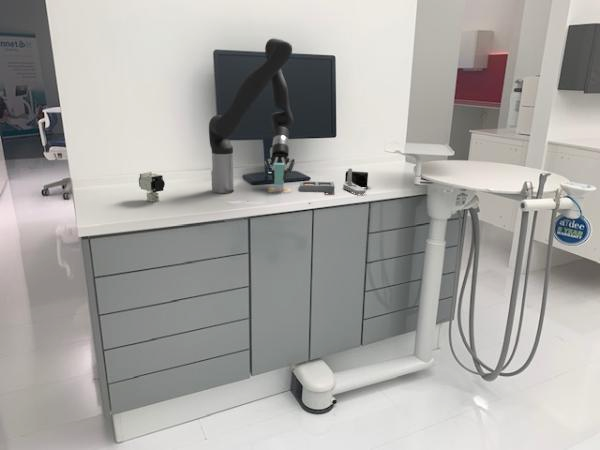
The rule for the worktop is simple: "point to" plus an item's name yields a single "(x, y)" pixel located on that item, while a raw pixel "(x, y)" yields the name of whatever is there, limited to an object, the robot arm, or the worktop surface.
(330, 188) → the port block
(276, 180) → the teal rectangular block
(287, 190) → the deck
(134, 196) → the worktop surface
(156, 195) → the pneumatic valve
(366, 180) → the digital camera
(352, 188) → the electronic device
